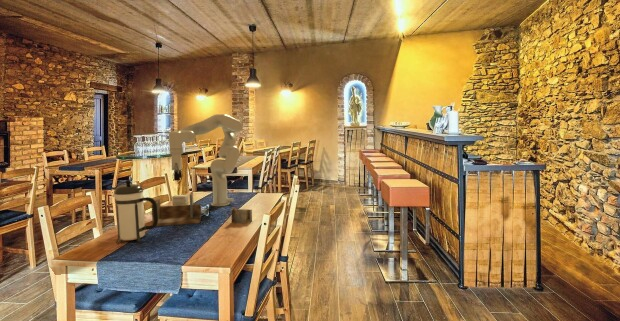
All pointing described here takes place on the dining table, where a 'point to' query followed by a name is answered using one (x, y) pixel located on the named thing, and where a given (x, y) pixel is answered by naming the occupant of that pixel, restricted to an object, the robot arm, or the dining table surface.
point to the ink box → (180, 200)
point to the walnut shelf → (175, 214)
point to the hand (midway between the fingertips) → (178, 178)
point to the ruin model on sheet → (241, 215)
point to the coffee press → (132, 212)
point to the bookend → (193, 216)
